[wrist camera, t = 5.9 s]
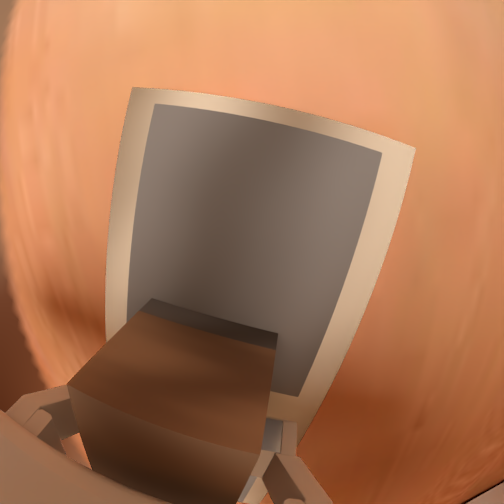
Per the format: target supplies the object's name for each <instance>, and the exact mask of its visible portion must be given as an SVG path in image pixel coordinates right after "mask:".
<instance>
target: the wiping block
mask: <svg viewBox="0 0 504 504" xmlns="http://www.w3.org/2000/svg"><path fill="white" fill-rule="evenodd" d="M277 339H278V333H274V332H270V331H266V330H262V329H258V328H254V327H250V326H246V325H243V324H239V323H235V322H231V321H228V320H224V319H220V318H217V317H213V316H209V315H206V314H202V313H199V312H196V311H192V310H189V309H185V308H182V307H179V306H175V305H172V304H169V303H166V302H162V301H159V300H156V299H153V298H151V299H150V300H149V301H148V302H147V303H146V304H145V305H144V306H143V307H142V308H141V309H140V310H139V311H138V312H137V313H136V314H135V315H134V316H133V317H132V318H131V319H130V320H129V321H128V322H127V323H126V324H125V325H124V326H123V327H122V328H121V329H120V330H119V331H118V332H117V333H116V334H115V335H114V336H113V337H112V338H111V339H110V340H109V341H108V342H107V343H106V344H105V345H104V346H103V347H102V348H101V349H100V350H99V351H98V352H97V353H96V354H95V355H94V356H93V357H92V358H91V359H90V360H89V361H88V362H87V363H86V364H85V365H84V366H83V367H82V368H81V370H80V371H79V372H78V373H77V374H76V375H75V376H74V377H73V378H72V379H71V380H70V381H69V382H68V383H67V388H68V392H69V396H70V400H71V404H72V408H73V412H74V416H75V419H76V423H77V426H78V429H79V433H80V436H81V439H82V442H83V445H84V448H85V451H86V454H87V457H88V459H89V462H90V465H91V467H92V470H93V471H95V472H97V473H99V474H101V475H103V476H105V477H107V478H109V479H112V480H114V481H116V482H118V483H120V484H123V485H125V486H127V487H129V488H132V489H134V490H137V491H139V492H142V493H144V494H147V495H149V496H152V497H155V498H157V499H160V500H163V501H166V502H169V503H172V504H236V503H237V501H238V499H239V497H240V495H241V493H242V491H243V489H244V487H245V485H246V483H247V481H248V479H249V477H250V475H251V473H252V471H253V469H254V467H255V465H256V463H257V461H258V458H259V456H260V453H261V447H262V441H263V435H264V429H265V422H266V416H267V409H268V403H269V396H270V389H271V382H272V375H273V368H274V361H275V354H276V346H277Z"/></svg>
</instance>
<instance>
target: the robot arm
mask: <svg viewBox="0 0 504 504" xmlns="http://www.w3.org/2000/svg"><path fill="white" fill-rule="evenodd" d="M77 433H79V429H78V426H77V423H76V419H75V416H74V412H73V408H72V404H71V400H70V396H69V392H68V388H67V385H63V386H59V387H55V388H51V389H47V390H43V391H39V392H35V393H32V394H27V395H23V396H22V397H21V398H20V399H19V400H18V401H17V402H16V403H15V404H14V405H13V406H12V407H11V408H10V409H9V410H8V411H7V412H6V413H4V412H3V411H1V410H0V504H172V503H169V502H166V501H163V500H160V499H157V498H155V497H152V496H149V495H147V494H144V493H142V492H139V491H137V490H134V489H132V488H129V487H127V486H125V485H123V484H120V483H118V482H116V481H114V480H112V479H109V478H107V477H105V476H103V475H101V474H99V473H97V472H95V471H93V470H91V469H89V468H87V467H86V466H83V465H82V464H80V463H78V462H76V461H75V460H73V459H71V458H69V457H68V456H66V452H65V449H64V447H63V444H62V442H61V440H63V439H65V438H68V437H70V436H72V435H74V434H77ZM296 445H297V422H295V421H289V420H284V419H283V420H282V419H279V418H274V417H269V416H266V422H265V429H264V435H263V441H262V447H261V453H260V456H259V458H258V461H257V463H256V465H255V467H254V469H253V471H252V473H251V476H256V477H260V478H262V480H263V482H264V484H265V487H266V489H267V491H268V493H269V495H270V497H271V499H272V501H273V503H274V504H333V501H332V500H331V499H330V497H329V496H328V495H327V493H326V492H325V491H324V489H323V488H322V487H321V485H320V484H319V483H318V481H317V480H316V479H315V477H314V476H313V474H312V473H311V472H310V470H309V469H308V468H307V466H306V465H305V463H304V462H303V461H302V459H301V458H300V457H298V456H296ZM466 504H504V482H503V483H501V484H500V485H498V486H496V487H494V488H493V489H491V490H489V491H487V492H485V493H484V494H482V495H480V496H478V497H477V498H475V499H473V500H471V501H470V502H468V503H466Z"/></svg>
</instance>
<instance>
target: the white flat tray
mask: <svg viewBox="0 0 504 504" xmlns="http://www.w3.org/2000/svg"><path fill="white" fill-rule="evenodd" d="M415 150H416V148H414V147H412V146H409V145H407V144H404V143H401V142H399V141H396V140H393V139H391V138H388V137H385V136H382V135H379V134H376V133H373V132H370V131H367V130H364V129H361V128H358V127H355V126H352V125H348V124H345V123H342V122H338V121H335V120H331V119H328V118H324V117H321V116H317V115H313V114H309V113H305V112H301V111H297V110H293V109H288V108H284V107H279V106H275V105H270V104H265V103H260V102H255V101H250V100H244V99H238V98H232V97H226V96H219V95H212V94H205V93H197V92H188V91H178V90H168V89H155V88H138V87H132V91H131V95H130V99H129V103H128V108H127V112H126V116H125V121H124V126H123V131H122V136H121V141H120V147H119V152H118V158H117V164H116V171H115V178H114V185H113V192H112V200H111V209H110V219H109V230H108V243H107V259H106V286H105V326H106V343H107V342H108V341H109V340H110V339H111V338H112V337H113V336H114V335H115V334H116V333H117V332H118V331H119V330H120V329H121V328H122V327H123V326H124V325H125V324H126V323H127V322H128V321H129V320H130V319H131V318H132V317H133V316H134V315H135V314H136V313H137V312H138V311H139V310H140V309H141V308H142V307H143V306H144V305H145V304H146V303H147V302H148V301H149V300H150V299H151V298H153V299H156V300H159V301H162V302H166V303H169V304H172V305H175V306H179V307H182V308H185V309H189V310H192V311H196V312H199V313H202V314H206V315H209V316H213V317H217V318H220V319H224V320H228V321H231V322H235V323H239V324H243V325H246V326H250V327H254V328H258V329H262V330H266V331H270V332H274V333H278V339H277V346H276V354H275V361H274V368H273V375H272V382H271V389H270V396H269V403H268V409H267V416H269V417H274V418H279V419H282V420H283V419H284V420H289V421H295V422H297V445H296V448H297V446H298V444H299V443H300V441H301V439H302V438H303V436H304V434H305V432H306V431H307V429H308V427H309V425H310V424H311V422H312V420H313V418H314V416H315V415H316V413H317V411H318V409H319V407H320V405H321V404H322V402H323V400H324V398H325V396H326V394H327V392H328V390H329V388H330V386H331V384H332V382H333V380H334V378H335V376H336V374H337V372H338V370H339V368H340V366H341V364H342V362H343V360H344V358H345V355H346V353H347V351H348V349H349V347H350V344H351V342H352V340H353V338H354V335H355V333H356V331H357V329H358V326H359V324H360V321H361V319H362V317H363V314H364V312H365V309H366V307H367V304H368V302H369V299H370V297H371V294H372V292H373V289H374V286H375V284H376V281H377V278H378V276H379V273H380V270H381V267H382V265H383V262H384V259H385V256H386V253H387V250H388V247H389V244H390V241H391V238H392V235H393V232H394V228H395V225H396V222H397V219H398V215H399V212H400V208H401V205H402V201H403V198H404V194H405V191H406V187H407V183H408V179H409V175H410V171H411V167H412V163H413V158H414V154H415ZM267 492H268V491H267V489H266V487H265V484H264V482H263V480H262V478H260V477H256V476H251V475H250V477H249V479H248V481H247V483H246V485H245V487H244V489H243V491H242V493H241V495H240V497H239V499H238V502H243V503H248V504H260V502H261V501H262V499H263V498H264V497H265V495H266V494H267Z"/></svg>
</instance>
